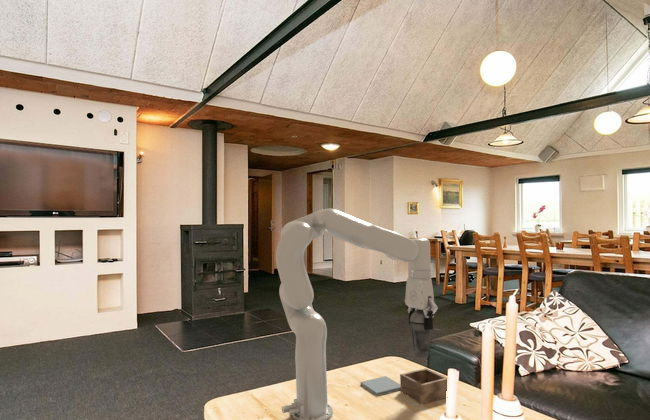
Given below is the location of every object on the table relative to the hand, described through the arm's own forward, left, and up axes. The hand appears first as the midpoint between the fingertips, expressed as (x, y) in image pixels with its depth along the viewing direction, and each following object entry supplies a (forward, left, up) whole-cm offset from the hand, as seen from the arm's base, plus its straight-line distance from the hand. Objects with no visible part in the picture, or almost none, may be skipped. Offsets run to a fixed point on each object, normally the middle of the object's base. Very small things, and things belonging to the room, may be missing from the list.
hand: (420, 326), depth 139 cm
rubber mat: (-9, +12, -23) cm, 27 cm away
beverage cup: (0, 0, -10) cm, 10 cm away
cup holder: (0, 0, -23) cm, 23 cm away
